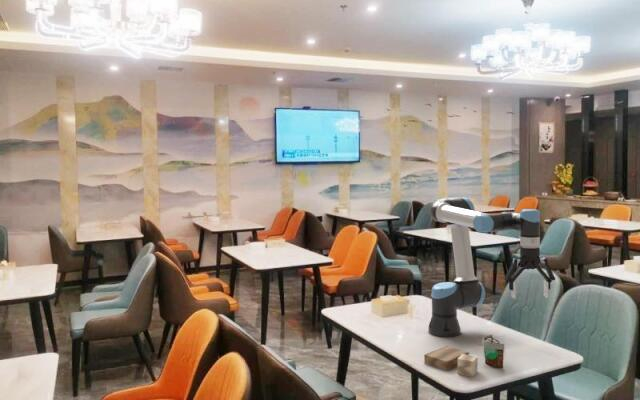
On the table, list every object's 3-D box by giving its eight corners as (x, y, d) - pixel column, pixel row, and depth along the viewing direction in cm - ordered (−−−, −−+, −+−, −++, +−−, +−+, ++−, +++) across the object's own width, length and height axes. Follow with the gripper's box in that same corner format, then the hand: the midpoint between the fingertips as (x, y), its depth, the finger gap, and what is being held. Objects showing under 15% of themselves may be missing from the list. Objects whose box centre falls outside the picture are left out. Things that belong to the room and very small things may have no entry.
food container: (477, 358, 217) (477, 335, 217) (491, 358, 218) (491, 334, 217) (489, 370, 205) (489, 345, 204) (504, 369, 205) (504, 344, 205)
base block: (424, 364, 214) (424, 354, 214) (446, 354, 224) (446, 345, 223) (447, 371, 206) (446, 361, 205) (468, 361, 215) (468, 352, 215)
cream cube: (457, 374, 202) (457, 358, 202) (462, 368, 207) (462, 353, 207) (473, 377, 199) (473, 361, 199) (477, 371, 204) (477, 356, 204)
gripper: (503, 248, 213) (503, 300, 214) (564, 247, 213) (563, 298, 214) (496, 246, 220) (496, 295, 222) (555, 244, 220) (555, 294, 222)
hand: (529, 297), depth 218 cm, fingers open, 13 cm apart
